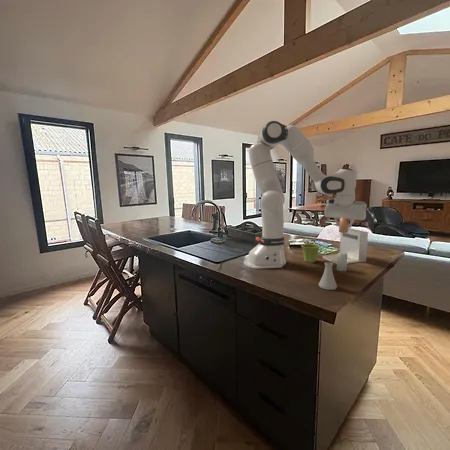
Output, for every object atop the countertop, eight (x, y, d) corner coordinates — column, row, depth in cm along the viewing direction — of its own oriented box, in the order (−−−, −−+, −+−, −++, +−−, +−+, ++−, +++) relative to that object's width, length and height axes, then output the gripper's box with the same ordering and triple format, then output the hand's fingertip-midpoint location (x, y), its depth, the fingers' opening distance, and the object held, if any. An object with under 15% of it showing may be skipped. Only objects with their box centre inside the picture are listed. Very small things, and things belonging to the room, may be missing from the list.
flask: (337, 291, 101) (338, 267, 99) (318, 289, 103) (319, 265, 102) (336, 284, 107) (338, 261, 106) (318, 282, 110) (319, 260, 108)
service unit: (339, 265, 132) (341, 234, 129) (321, 257, 145) (323, 230, 143) (366, 261, 137) (368, 232, 134) (347, 254, 150) (348, 227, 148)
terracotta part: (343, 233, 133) (344, 217, 132) (336, 231, 137) (337, 216, 136) (349, 232, 134) (350, 217, 133) (343, 231, 139) (344, 216, 137)
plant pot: (299, 258, 145) (300, 243, 143) (317, 258, 143) (317, 243, 142) (302, 263, 136) (302, 247, 134) (320, 264, 134) (321, 248, 133)
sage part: (341, 271, 122) (341, 255, 121) (334, 268, 127) (335, 253, 125) (348, 270, 124) (349, 254, 122) (342, 267, 128) (342, 252, 126)
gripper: (369, 201, 128) (367, 228, 130) (329, 199, 142) (327, 224, 145) (364, 202, 123) (362, 230, 126) (323, 200, 138) (322, 225, 140)
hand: (343, 227), depth 135 cm, fingers closed on terracotta part, 4 cm apart
